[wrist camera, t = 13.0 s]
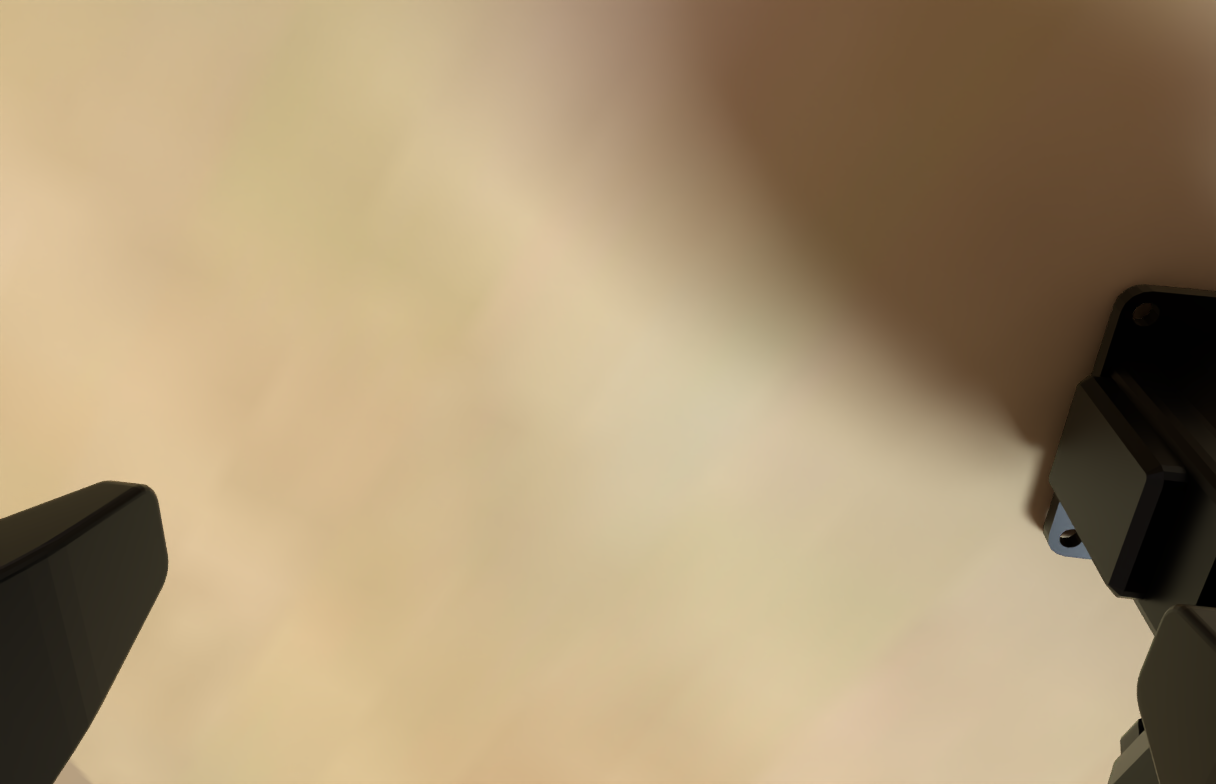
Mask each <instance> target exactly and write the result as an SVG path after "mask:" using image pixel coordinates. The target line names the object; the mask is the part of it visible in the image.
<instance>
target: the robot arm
mask: <svg viewBox="0 0 1216 784" xmlns="http://www.w3.org/2000/svg"><path fill="white" fill-rule="evenodd" d="M1143 303H1152V309H1151V311H1150V312H1149V314H1148V315H1146V316H1145V317H1143V318H1140V319H1133V312H1134V311H1135V309H1136V307H1138V306H1140V305H1141V304H1143ZM1049 483H1050V485H1051V487H1052V488H1053V490H1054V495H1053V498H1052V502H1051V505H1050V508H1049V511H1048V514H1047V517H1046V521H1045V524H1044V530H1043V533H1044V536H1045V538H1046V540H1047V542H1048V544H1049V546H1050V548H1051V550H1053V551H1054V552H1055V553H1057V554H1059V555H1062V556H1066V557H1075V558H1083V559H1092V561H1093V562H1094V564H1095V566H1096V568H1097V570H1098V571H1099V573H1100V575H1101V577H1102V579H1103V581H1104V582H1105V584H1106V585H1107V587H1108V588H1109V589H1110V590H1111V592H1112V593H1113V594H1114V595H1115V596H1116V597H1119V598H1127V599H1133V600H1134V602H1135V604H1136V605H1137V607H1138V609H1139V610H1140V612H1141V614H1142V616H1143V617H1144V619H1145V621H1146V622H1147V624H1148V626H1149V628H1150V629H1151V631H1152V633H1153V634H1154V636H1155V637H1154V639H1153V642H1152V644H1151V647H1150V649H1149V652H1148V654H1147V656H1146V659H1145V661H1144V664H1143V666H1142V669H1141V671H1140V674H1139V678H1138V683H1137V701H1138V706H1139V711H1140V714H1141V719H1138V721H1137V722H1136V723H1135V724H1134V725H1133V726H1132V727H1131V728H1130V729H1129V730H1128V731H1127V732H1126V733H1125V734H1124V735H1123V736H1122V737H1121V740H1120V744H1121V755H1120V756H1119V757H1118V758H1117V759H1116V760H1115V762H1114V765H1113V768H1112V771H1111V775H1110V778H1109V781H1108V784H1216V291H1208V290H1198V289H1187V288H1177V287H1166V286H1156V285H1136V286H1133V287H1131V288H1129V289H1126V290H1125V291H1124V292H1123V293H1122V294H1121V295H1119V296H1118V298H1117V300H1116V302H1115V304H1114V306H1113V309H1112V312H1111V315H1110V318H1109V321H1108V325H1107V328H1106V331H1105V334H1104V337H1103V340H1102V344H1101V347H1100V350H1099V353H1098V356H1097V359H1096V362H1095V366H1094V369H1093V372H1092V375H1090V376H1088V377H1087V378H1086V379H1084V380H1083V381H1082V382H1081V383H1079V384H1078V386H1077V388H1076V392H1075V395H1074V398H1073V401H1072V404H1071V408H1070V411H1069V414H1068V417H1067V421H1066V424H1065V427H1064V430H1063V433H1062V437H1061V440H1060V443H1059V446H1058V450H1057V453H1056V456H1055V459H1054V462H1053V466H1052V469H1051V472H1050V475H1049ZM1069 529H1075V530H1076V533H1075V534H1074V535H1072V536H1070V537H1066V538H1062V537H1060V536H1061V534H1062V533H1063V532H1065V531H1066V530H1069ZM167 571H168V553H167V548H166V542H165V537H164V531H163V525H162V520H161V514H160V508H159V503H158V499H157V496H156V494H155V492H154V491H153V490H152V489H151V488H150V487H148V486H147V485H144V484H136V483H127V482H119V481H102V482H99V483H96V484H94V485H91V486H88V487H86V488H83V489H80V490H78V491H75V492H72V493H69V494H67V495H64V496H61V497H59V498H56V499H53V500H51V501H48V502H45V503H43V504H40V505H37V506H34V507H32V508H29V509H26V510H24V511H21V512H18V513H16V514H13V515H10V516H8V517H5V518H2V519H0V784H53V783H54V782H55V780H56V779H57V777H58V775H59V774H60V772H61V771H62V769H63V768H64V766H65V765H66V763H67V762H68V760H69V759H70V757H71V756H72V754H73V753H74V751H75V749H76V748H77V746H78V745H79V743H80V741H81V740H82V738H83V736H84V735H85V733H86V732H87V730H88V728H89V727H90V725H91V723H92V721H93V720H94V718H95V716H96V714H97V713H98V711H99V709H100V707H101V705H102V704H103V702H104V700H105V698H106V696H107V694H108V692H109V690H110V688H111V686H112V684H113V682H114V680H115V678H116V676H117V675H118V673H119V671H120V669H121V667H122V665H123V663H124V661H125V659H126V657H127V655H128V653H129V651H130V649H131V647H132V645H133V643H134V642H135V640H136V638H137V636H138V634H139V632H140V630H141V628H142V626H143V624H144V622H145V620H146V618H147V616H148V614H149V612H150V611H151V609H152V607H153V605H154V603H155V601H156V599H157V597H158V595H159V593H160V591H161V589H162V587H163V585H164V582H165V579H166V576H167Z"/></svg>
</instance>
